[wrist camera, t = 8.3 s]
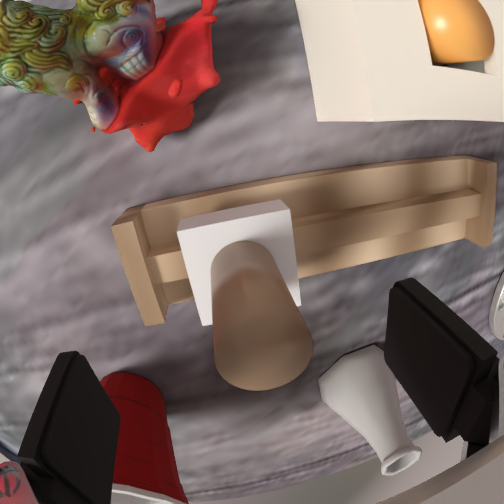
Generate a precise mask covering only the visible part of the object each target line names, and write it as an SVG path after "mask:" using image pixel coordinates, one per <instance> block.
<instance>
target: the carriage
mask: <svg viewBox="0 0 504 504" xmlns="http://www.w3.org/2000/svg"><path fill="white" fill-rule="evenodd" d="M177 235H178V239H179V243H180V247H181V251H182V254H183V258H184V262H185V266H186V269H187V273H188V277H189V280H190V284H191V288H192V291H193V295H194V298H195V302H196V305H197V309H198V312H199V315H200V319H201V322H202V326H205V325H211V324H213V343H214V361H215V366H216V368H217V371H218V372H219V374H220V375H221V376H222V377H223V379H225V380H226V381H227V382H229V383H230V384H232V385H234V386H236V387H239V388H242V389H246V390H254V391H260V390H269V389H273V388H277V387H280V386H283V385H285V384H287V383H289V382H290V381H292V380H294V379H295V378H296V377H298V376H299V375H300V374H301V373H302V372H303V371H304V370H305V368H306V367H307V365H308V364H309V362H310V360H311V357H312V354H313V340H312V338H311V335H310V333H309V331H308V329H307V327H306V324H305V322H304V320H303V318H302V316H301V314H300V312H299V310H298V308H297V306H301V300H300V290H299V281H298V272H297V263H296V254H295V246H294V238H293V230H292V222H291V214H290V209H289V208H288V207H287V206H286V205H285V204H284V203H283V201H282V200H281V199H278V200H273V201H267V202H262V203H256V204H251V205H246V206H241V207H236V208H231V209H226V210H221V211H216V212H211V213H206V214H201V215H196V216H191V217H187V218H182V219H180V222H179V225H178V229H177Z"/></svg>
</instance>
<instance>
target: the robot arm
mask: <svg viewBox="0 0 504 504" xmlns="http://www.w3.org/2000/svg"><path fill="white" fill-rule="evenodd" d="M489 325H490V329H491V331H492V333H493V334H494V335H495V336H496V337H497V338H498V339H500V340H504V272H503V274H502V276H501V278H500V280H499V282H498V285H497V287H496V290H495V293H494V296H493V299H492V303H491V307H490V314H489ZM497 353H498V352H497V351H496V350H495V349H494V348H493V347H492V346H491V345H490V344H489V343H488V342H487V341H485V340H484V339H483V338H482V337H481V336H480V335H479V334H478V333H477V332H476V331H475V330H474V329H472V328H471V327H470V326H469V325H468V324H467V323H466V322H465V321H464V320H462V319H461V318H460V317H459V316H458V315H457V314H456V313H454V312H453V311H452V310H451V309H450V308H449V307H448V306H446V305H445V304H444V303H443V302H442V301H441V300H439V299H438V298H437V297H436V296H435V295H434V294H432V293H431V292H430V291H429V290H428V289H426V288H425V287H424V286H423V285H422V284H420V283H419V282H418V281H417V280H416V279H414V278H407V279H404V280H401V281H398V282H396V283H395V284H394V286H393V288H391V289H390V292H389V306H388V318H387V329H386V339H385V348H384V359H385V362H386V364H387V366H388V367H389V368H390V370H391V371H392V373H393V374H394V375H395V377H396V378H397V380H398V381H399V382H400V384H401V385H402V387H403V388H404V390H405V391H406V392H407V394H408V395H409V397H410V398H411V400H412V401H413V402H414V404H415V405H416V407H417V408H418V410H419V411H420V412H421V414H422V415H423V417H424V418H425V420H426V421H427V423H428V424H429V426H430V427H431V429H432V430H433V432H434V433H435V434H436V435H437V436H439V437H440V436H442V437H443V439H444V440H445V442H448V441H450V440H452V439H453V438H455V437H457V436H459V435H461V437H462V438H463V440H464V443H463V450H462V456H461V461H460V463H458V464H456V465H455V466H453V467H451V468H449V469H447V470H446V471H444V472H442V473H440V474H438V475H437V476H435V477H433V478H431V479H429V480H427V481H426V482H423V483H421V484H419V485H417V486H415V487H413V488H411V489H409V490H407V491H405V492H403V493H400V494H398V495H396V496H394V497H391V498H389V499H387V500H384V501H382V502H379V503H377V504H504V355H503V356H502V357H501V359H500V360H499V359H498V358H497V357H496V355H497ZM120 424H121V418H120V414H119V412H118V410H117V409H116V407H115V406H114V404H113V403H112V401H111V400H110V398H109V396H108V395H107V393H106V392H105V390H104V388H103V387H102V385H101V383H100V382H99V380H98V378H97V377H96V375H95V373H94V372H93V370H92V368H91V366H90V365H89V363H88V361H87V359H86V358H85V356H83V355H80V354H79V353H78V352H77V351H71V352H63V353H59V355H58V356H57V358H56V361H55V363H54V365H53V367H52V369H51V372H50V374H49V376H48V378H47V381H46V383H45V385H44V387H43V390H42V392H41V395H40V397H39V399H38V402H37V404H36V407H35V409H34V412H33V414H32V417H31V420H30V422H29V425H28V427H27V430H26V433H25V436H24V438H23V441H22V444H21V447H20V450H19V453H18V456H17V457H18V458H19V459H20V460H21V464H20V465H19V464H17V463H16V462H12V461H8V462H3V463H1V464H0V504H111V494H112V484H113V475H114V467H115V459H116V451H117V444H118V437H119V430H120Z"/></svg>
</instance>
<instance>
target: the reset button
mask: <svg viewBox="0 0 504 504" xmlns="http://www.w3.org/2000/svg"><path fill="white" fill-rule="evenodd" d="M418 3H419V7H420V11H421V14H422V18H423V23H424V27H425V31H426V36H427V40H428V45H429V50H430V55H431V61H432V65H433V66H438V65H445V64H452V63H460V62H469V61H479V60H485V59H487V58H489V57H490V56H491V54H492V52H493V50H494V44H495V37H494V30H493V27H492V23H491V21H490V18H489V16H488V14H487V12H486V11H485V9H484V7H483V6H482V5H481V3H480V2H479V1H478V0H418Z"/></svg>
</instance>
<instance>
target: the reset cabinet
mask: <svg viewBox="0 0 504 504" xmlns="http://www.w3.org/2000/svg"><path fill="white" fill-rule="evenodd" d="M478 1H479V2H480V3H481V5H482V6H483V7H484V9H485V11H486V12H487V14H488V16H489V18H490V21H491V23H492V27H493V30H494V37H495V44H494V50H493V52H492V54H491V56H490V57H489V58H487V59H485V60H479V61H469V62H460V63H452V64H447V66H448V67H441V66H433V65H432V61H431V55H430V50H429V45H428V40H427V36H426V31H425V27H424V23H423V18H422V14H421V11H420V7H419V3H418V0H295V3H296V7H297V11H298V16H299V21H300V25H301V30H302V35H303V40H304V45H305V50H306V56H307V61H308V67H309V72H310V78H311V84H312V90H313V96H314V102H315V109H316V116H317V122H320V121H368V122H376V121H398V120H475V121H495V122H504V0H478Z"/></svg>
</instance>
